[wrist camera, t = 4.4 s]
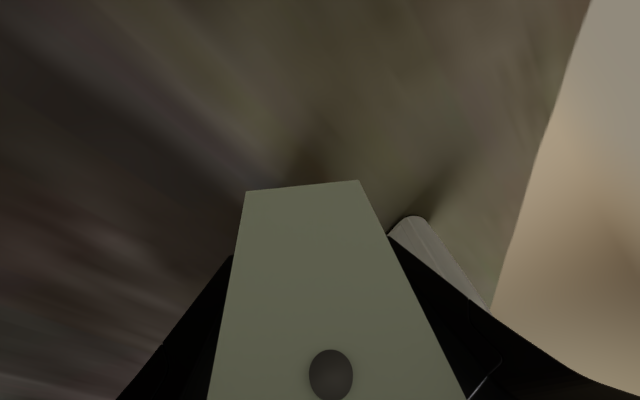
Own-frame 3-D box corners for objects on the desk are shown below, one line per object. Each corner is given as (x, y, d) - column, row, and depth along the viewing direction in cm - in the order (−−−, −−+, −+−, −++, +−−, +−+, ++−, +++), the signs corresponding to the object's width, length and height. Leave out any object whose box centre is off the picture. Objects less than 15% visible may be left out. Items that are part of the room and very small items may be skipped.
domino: (254, 225, 12) (209, 619, 4) (245, 188, 11) (156, 644, 3) (356, 214, 13) (490, 553, 5) (358, 176, 12) (546, 551, 3)
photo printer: (379, 280, 32) (425, 399, 22) (351, 272, 31) (385, 397, 21) (434, 221, 27) (524, 338, 17) (404, 208, 26) (483, 330, 16)
